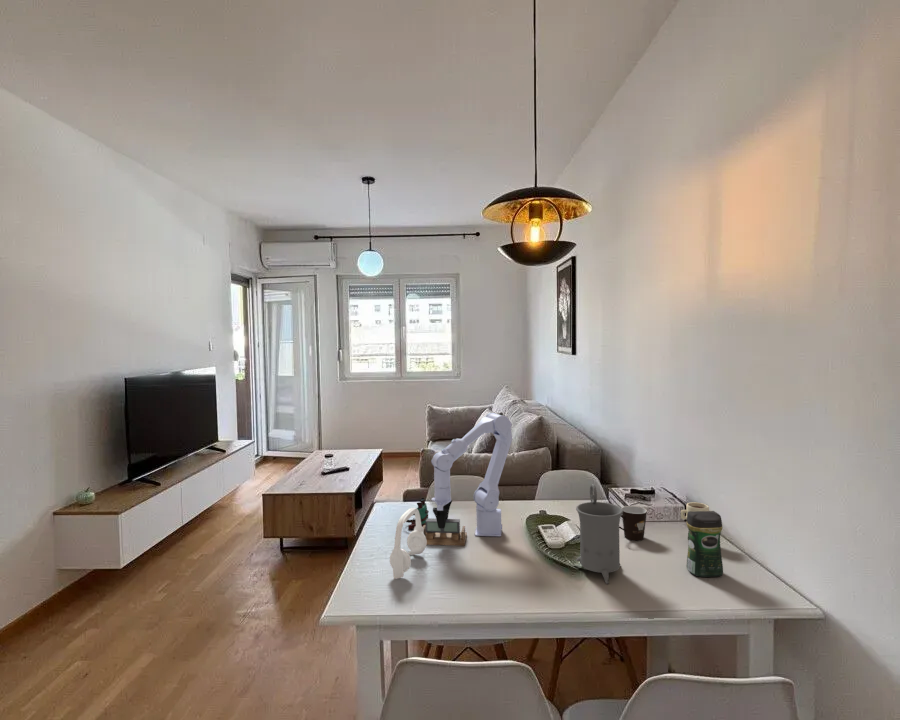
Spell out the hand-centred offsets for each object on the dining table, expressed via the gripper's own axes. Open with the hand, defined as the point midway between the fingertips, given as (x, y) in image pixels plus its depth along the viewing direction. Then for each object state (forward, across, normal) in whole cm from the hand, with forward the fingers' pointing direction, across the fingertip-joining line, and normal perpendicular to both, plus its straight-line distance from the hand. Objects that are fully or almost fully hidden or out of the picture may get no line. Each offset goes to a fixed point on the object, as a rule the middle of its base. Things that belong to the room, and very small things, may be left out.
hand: (443, 524), depth 188 cm
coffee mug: (+6, -7, +66) cm, 67 cm away
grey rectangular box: (+3, 0, 0) cm, 3 cm away
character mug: (+6, -4, +88) cm, 88 cm away
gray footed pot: (+6, +21, +51) cm, 55 cm away
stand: (+6, 0, 0) cm, 6 cm away
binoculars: (+6, -12, -12) cm, 18 cm away
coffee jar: (+6, +20, +82) cm, 85 cm away
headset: (+6, +23, -8) cm, 25 cm away
